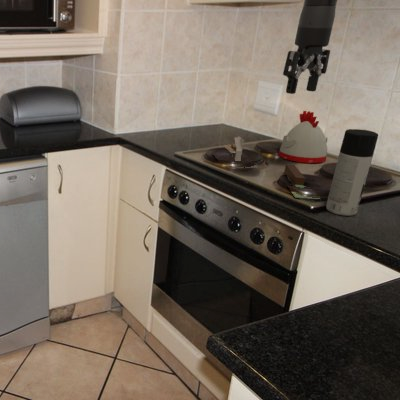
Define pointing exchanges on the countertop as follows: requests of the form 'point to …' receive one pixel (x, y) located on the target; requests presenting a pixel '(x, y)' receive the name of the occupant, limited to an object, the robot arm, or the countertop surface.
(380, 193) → the countertop surface
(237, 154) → the architectural model
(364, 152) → the spray can
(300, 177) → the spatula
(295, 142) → the kitchen timer
